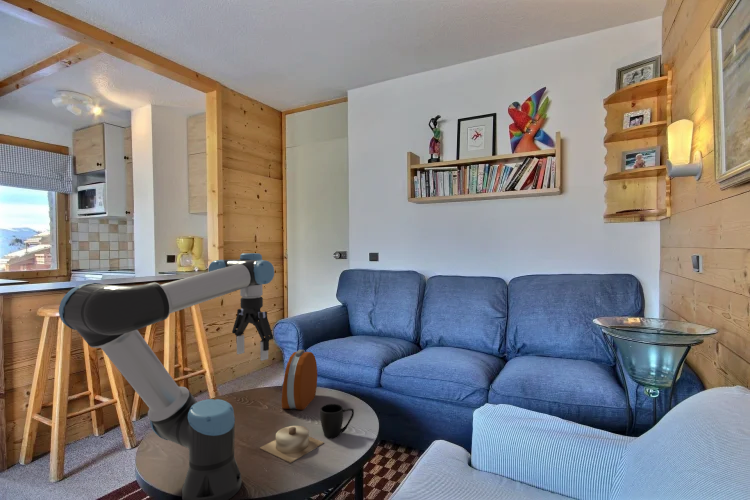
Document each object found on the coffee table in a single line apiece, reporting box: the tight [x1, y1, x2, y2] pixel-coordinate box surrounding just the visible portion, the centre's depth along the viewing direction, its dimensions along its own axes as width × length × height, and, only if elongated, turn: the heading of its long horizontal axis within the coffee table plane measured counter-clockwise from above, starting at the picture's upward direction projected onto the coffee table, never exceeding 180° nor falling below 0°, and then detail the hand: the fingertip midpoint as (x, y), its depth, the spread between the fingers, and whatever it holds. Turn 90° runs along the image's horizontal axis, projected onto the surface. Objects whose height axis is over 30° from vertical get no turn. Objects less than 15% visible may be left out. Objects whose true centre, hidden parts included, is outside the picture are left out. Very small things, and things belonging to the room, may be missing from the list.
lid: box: [275, 425, 310, 454], centre depth 130 cm, size 11×11×6 cm
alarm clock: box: [281, 349, 318, 411], centre depth 167 cm, size 22×10×23 cm, turn 170°
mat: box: [259, 436, 325, 464], centre depth 130 cm, size 15×15×1 cm
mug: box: [319, 403, 355, 439], centre depth 138 cm, size 8×12×10 cm
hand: (252, 356), depth 136 cm, fingers open, 13 cm apart
